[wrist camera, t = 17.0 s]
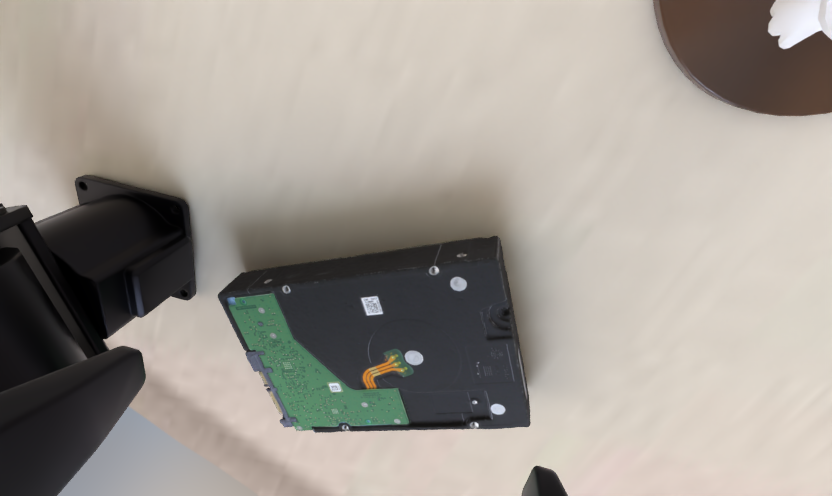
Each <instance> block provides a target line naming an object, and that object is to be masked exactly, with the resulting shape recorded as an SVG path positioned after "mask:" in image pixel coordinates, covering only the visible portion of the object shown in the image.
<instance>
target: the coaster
mask: <svg viewBox="0 0 832 496" xmlns="http://www.w3.org/2000/svg"><path fill="white" fill-rule="evenodd" d="M653 1H654V9H655V14H656V19H657V24H658V28H659V30H660V33H661V36H662V39H663V41H664V44H665V46H666V48H667V50H668V52H669V53H670V55H671V57H672V59H673V61H674V62H675V63H676V65H677V66H678V67H679V68H680V70H681V71H682V72H683V73H684V75H685V76H686V77H687V78H689V79H690V80H691V81H692V82H693V83H694V84H695V85H696V86H697V87H698V88H700V89H702V90H703V91H705V92H706V93H708V94H709V95H711V96H712V97H714V98H716V99H718V100H721V101H723V102H725V103H727V104H730V105H732V106H735V107H738V108H742V109H745V110H749V111H753V112H756V113H762V114H769V115H777V116H807V115H816V114H826V113H830V112H832V40H831V39H830V38H829V37H828V36H827V35H826V34H825V33H824V32H823V31H822V30H821V31H818V32H816V33H814V34H812V35H811V36H809V37H807V38H805V39H803V40H802V41H800V42H798V43H797V44H795V45H793V46H792V47H790V48H787V49H782V48H781V47H779V43H778V40H779V38H780V35H779V36H772V35H771V34H770V33H769V32H768V25H769V22H770V21H771V19H772V18H773V17H772V16H771V13H770V10H771V8H772V6H773V4H774V2H775V1H776V0H653Z"/></svg>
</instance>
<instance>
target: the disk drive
mask: <svg viewBox="0 0 832 496" xmlns="http://www.w3.org/2000/svg"><path fill="white" fill-rule="evenodd" d="M218 298H219V301H220V303H221V304H222V306H223V308H224V310H225V312H226V314H227V317H228V318H229V320H230V322H231V324H232V327H233V328H234V330H235V332H236V334H237V337H238V338H239V340H240V343H241V344H242V346H243V348H244V350H245V351H246V353H245V354H246V356H247V359H248V360H249V362H250V364H251V366H252V368H253V370H254V372H255V371H259V374H260V376H261V378H262V380H263V382H264V386H269V387H270V388H267V391H268V392H269V394H270V396H271V398H272V400H273V402H274V404H275V406H276V408H277V410H278V411H279V414H283V419H281V420H280V423H282V424H283V426H284V427H292V426H294V427H295V429H296V430H299V431H303V430H313V431H314V432H337V431H341V432H342V431H383V430H384V431H387V430H389V431H390V430H393V431H394V430H401V431H402V430H428V429H429V430H438V429H474V428H476V429H502V428H515V427H529V425H530V406H529V394H528V389H527V383H526V378H525V373H524V366H523V361H522V356H521V351H520V344H519V338H518V333H517V327H516V323H515V317H514V311H513V305H512V300H511V294H510V289H509V283H508V279H507V273H506V270H505V265H504V259H503V253H502V246H501V241H500V238H499V237H498V236H493V237H490V238H474V239H466V240H460V241H452V242H446V243H440V244H433V245H425V246H418V247H411V248H405V249H398V250H391V251H385V252H378V253H371V254H365V255H359V256H355V257H348V258H337V259H329V260H323V261H316V262H309V263H302V264H295V265H288V266H280V267H274V268H267V269H263V270H258V271H251V272H243V273H241V274H240V275H239V276H238V277H237V278H235V279H234V280H233V281H232V282H231V283H230V284H228V285H227V286H226V287H225V288H224V289H223V290H222V291H221V292H220V293H219V294H218Z"/></svg>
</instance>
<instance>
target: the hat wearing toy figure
mask: <svg viewBox="0 0 832 496" xmlns="http://www.w3.org/2000/svg"><path fill="white" fill-rule="evenodd" d="M770 13H771V16H772V17H773V18H772V19H771V21H770V22H769V25H768V32H769V33H770V34H771V35H772V36H779V35H780V38H779V40H778V43H779V47H781V48H782V49H787V48H790V47H792V46H793V45H795V44H797V43H798V42H800V41H802V40H803V39H805V38H807V37H809V36H811V35H812V34H814V33H816V32H818V31H821V30H822V31H823V32H824V33H825V34H826V35H827V36H828V37H829V38H830V39H831V40H832V0H776V1H775V2H774V4H773V6H772V8H771V10H770Z"/></svg>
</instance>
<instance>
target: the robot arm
mask: <svg viewBox="0 0 832 496" xmlns="http://www.w3.org/2000/svg"><path fill="white" fill-rule="evenodd" d="M75 186H76V191H77V195H78V200H79V204H80V205H78V206H76V207H73V208H71V209H68V210H66V211H63V212H61V213H58V214H56V215H53V216H51V217H48V218H46V219H43V220H41V221H38V222H36V223H34V222H33V220H32V217H33V215H32V213H31V212H30V210H29V208H28V207H27V205H21V206H14V207H7V208H5V207H4V206H3V204H2V203H1V204H0V496H57V495H58V494H59V493H60V492H61V491H62V489H63V488H64V487H65V486H66V485H67V483H68V482H69V481H70V480H71V479H72V478H73V477H74V475H75V474H76V473H77V472H78V471H79V470H80V468H81V467H82V466H83V465H84V464H85V463H86V462H87V460H88V459H89V458H90V457H91V456H92V454H93V453H94V452H95V451H96V450H97V448H98V447H99V446H100V444H101V443H102V442H103V440H104V439H105V438H106V437H107V435H108V434H109V432H110V431H111V430H112V428H113V427H114V425H115V424H116V423H117V421H118V420H119V418H120V417H121V416H122V414H123V413H124V411H125V410H126V409H127V407H128V406H129V404H130V403H131V402H132V400H133V399H134V397H135V396H136V395H137V393H138V392H139V391H140V389H141V388H142V386H143V384H144V382H145V378H146V374H145V368H144V363H143V357H142V353H141V352H140V351H139V350H137V349H133V348H130V347H126V346H120V347H117V348H114V349H112V350H109V349H108V347H107V345H106V344H105V342H104V340H103V339H107V338H109V337H110V336H111V335H113V334H114V333H115V332H116V331H118V330H119V329H120V328H122V327H123V326H124V325H126V324H127V323H128V322H130V321H131V320H132V319H134V318H135V317H136V316H137V317H140V318H142V317H144V316H145V315H147V314H148V313H149V312H150V311H152V310H153V309H154V308H156V307H157V306H158V305H159V304H161V303H162V302H163V301H165V300H166V299H167V298H169V297H170V296H172V297H175V298H179V299H183V300H190V299H191V298H192V297H193V296H194V295H195V294H196V287H195V274H194V262H193V251H192V241H191V230H190V219H189V208H188V205H187V203H186V202H185V201H184V200H182V199H180V198H177V197H173V196H169V195H165V194H161V193H157V192H153V191H149V190H145V189H141V188H137V187H133V186H129V185H125V184H121V183H117V182H113V181H109V180H105V179H101V178H97V177H93V176H89V175H84V176H81V177H78V178H76V180H75ZM176 206H177V207H178V208H179V210H178V209H177V207H176ZM522 496H568V495H567V493H566V491H565V489H564V487H563V485H562V483H561V481H560V480H559V478H558V476H557V474H556V473H555V472H554V471H553V470H551V469H547V468H544V467H540V466H535V467H534V468H533V469H532V471H531V473H530V475H529V478H528V480H527V482H526V484H525V486H524V488H523V491H522Z"/></svg>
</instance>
